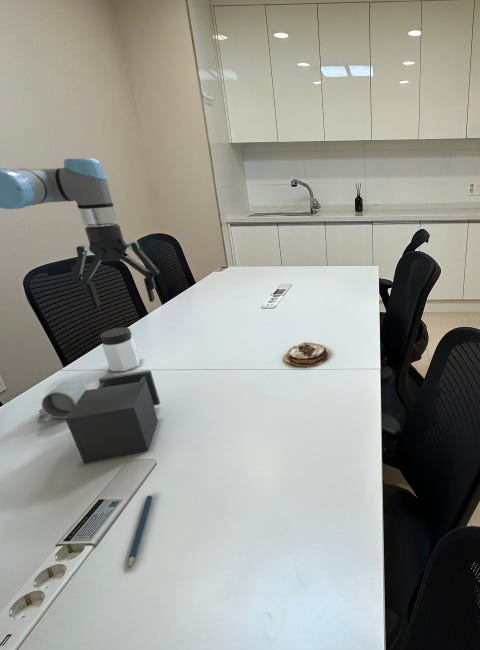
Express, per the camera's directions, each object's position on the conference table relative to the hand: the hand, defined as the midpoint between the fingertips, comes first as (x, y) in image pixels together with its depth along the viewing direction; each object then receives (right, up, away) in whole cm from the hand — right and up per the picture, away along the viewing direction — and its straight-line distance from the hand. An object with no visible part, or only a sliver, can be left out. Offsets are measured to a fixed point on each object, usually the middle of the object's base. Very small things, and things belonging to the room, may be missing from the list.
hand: (125, 303), depth 107 cm
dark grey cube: (+10, -34, -16) cm, 39 cm away
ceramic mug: (-14, -29, -4) cm, 33 cm away
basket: (+6, -29, -6) cm, 30 cm away
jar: (-12, -19, +19) cm, 30 cm away
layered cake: (+47, -16, +22) cm, 54 cm away
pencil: (+28, -44, -39) cm, 65 cm away
